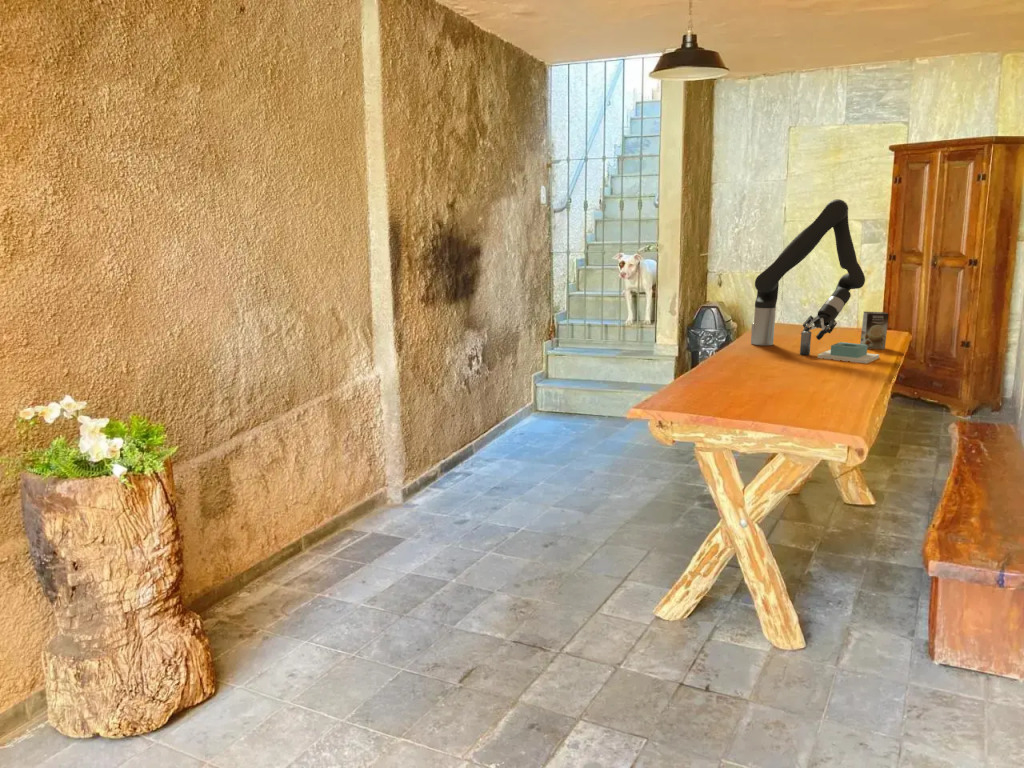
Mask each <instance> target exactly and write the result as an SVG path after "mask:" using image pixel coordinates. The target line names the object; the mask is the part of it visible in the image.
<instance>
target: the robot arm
mask: <svg viewBox="0 0 1024 768" xmlns="http://www.w3.org/2000/svg"><path fill="white" fill-rule="evenodd" d="M831 229H833V233H834V236H835V237H834V238H835V239H834V240H835V246H836V252H837V253H836V254H837V258H838V262H839V266H840V268H841V269H844V270H846V272H847V273H845V274H844V275H842V276H841V277H840V279H839V280H838V282H837V285H836V287H835V289H834V291H833V293H832V294H831V295H830V297H828V299H826V300H825V301H824V303H823V305H822V306H821V308H820V309H819V310H818V311H817V315H816V316H815V317H814V316H812V315H810V316H808V318H807V319H806V320H805V321H804V323H803V324H802V326H803V330H802V331H811V330H815V329H816V328H817V329H818V328H819V329H821V330H820V331H819V332H818V333H817V335H816V336H815V337H816V340H818V341H820V340H821V339H822V338H823V337H824V336H825V335H827V334H831V333H832V332H833V330H834V329H835V327H836V326H837V324H838V322H837V321H836V319H837V317H838V316H839V314H840V313H841V312H842V310H843V308H844V307H845V306H846V304H847V303H848V302H849V300H850V298H851V296H852V294H851V290H857V289H858V290H859V289H861V288H862V287H864V286H865V283H866V276H865V274H864V271H863V269H862V267H861V266H860V263H859V262H858V258H857V255H856V254H857V253H856V251H855V246H854V242H853V238H852V235H851V231H850V224H849V206H848V204H847V202H846V201H844V200H842V199H839V198H838V199H833V200H830V201H829V202H827V204H826V205H825V207H824V208H823V210H822V211H821V212H820V214H819V215H818V216H817V217H816V219H815V220H813V221H812V223H810V224H809V225H808V226H807V227H805V228H804V229H803V230H802V231H801V232H799V233H798V235H796V237H794V239H793V240H791V241H790V243H789V244H788V245H787V246H785V248H784V249H783V251H781V253H780V254H779V255H778V257H777V258H776V259H775V260H774V262H772V263H771V264H770V265H769V266H768V267H767V268H765V269H764V270H763V271H762V272H760V274H758V275H757V276H756V278H755V281H754V288H755V289H756V291H757V292H756V293H757V294H756V298H755V303H754V314H753V316H754V317H753V322H752V324H751V335H750V344H751V345H755V346H772V345H774V340H775V323H776V308H777V302H778V296H779V295H778V294H779V285H780V284H779V281H781V279H782V278H783V277H784V276H785V275H786V274H787V273H788V272H790V271H791V270H792V269H793V268H794V267H796V266H797V265H799V264H800V263H801V262H802V261H803V260H804V259H805V258H807V256H809V255H810V253H812V251H813V250H814V249H815V248H816V247H817V245H818V244H819V243H820V242H821V240H822V239H823V237H824V236H825V235H826V234H827V233H828V232H829V231H830V230H831Z"/></svg>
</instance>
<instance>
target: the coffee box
mask: <svg viewBox="0 0 1024 768" xmlns="http://www.w3.org/2000/svg"><path fill="white" fill-rule="evenodd" d="M861 323H862V325H861V333H860V341H859V342H860V343H859V344H865V345H868V346H867V350H885V349H886V341H887V331H888V324H889V313H888V312H884V311H863V315H862V322H861Z"/></svg>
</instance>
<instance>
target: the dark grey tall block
mask: <svg viewBox="0 0 1024 768" xmlns="http://www.w3.org/2000/svg"><path fill="white" fill-rule="evenodd" d="M800 335H801V336H800V347H799V356H806V357H807V356H810V354H811V344H812V343H811V342H812V331H811V330H809V331H803V330H802V331H801V332H800Z"/></svg>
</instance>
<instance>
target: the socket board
mask: <svg viewBox="0 0 1024 768" xmlns="http://www.w3.org/2000/svg"><path fill="white" fill-rule="evenodd" d="M867 346H868V345H865V344H860V343H855V342H854V343H852V342H845V341H839V342H837V343H834V344H831V345H830V349H828V350H826V351H823V352H820V353H818V354H817V359H823V358H824V360H831V359H833V360H832V361H840V360H842V361H841V362H848V361H850V363H858V364H865V365H866V364H867V365H868V364H869V363H873V361H876V360H878V359H880V354H877V353H868V349H867Z"/></svg>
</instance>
